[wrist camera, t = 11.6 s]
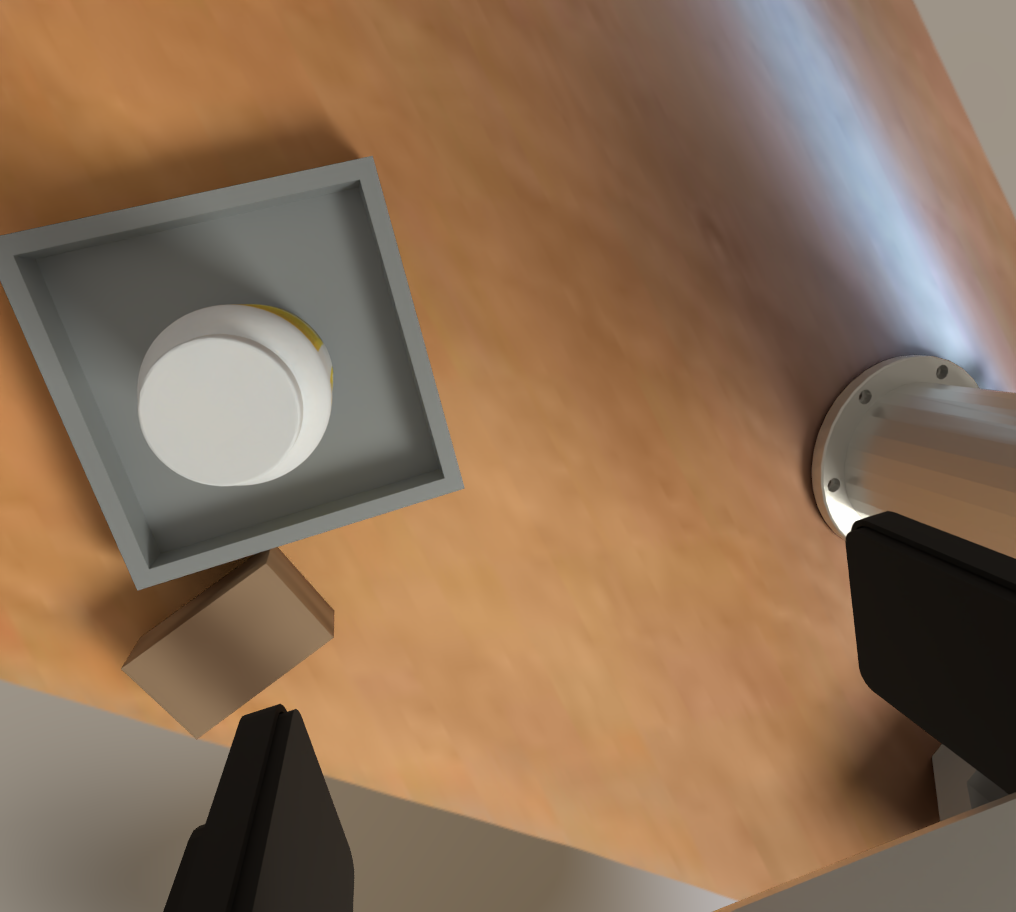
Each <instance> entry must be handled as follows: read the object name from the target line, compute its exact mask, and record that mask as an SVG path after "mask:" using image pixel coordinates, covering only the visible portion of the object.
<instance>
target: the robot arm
mask: <svg viewBox="0 0 1016 912" xmlns="http://www.w3.org/2000/svg"><path fill="white" fill-rule="evenodd" d="M812 484H813V492H814V496H815V499H816V503H817V507H818V509H819V511H820V513H821V515H822V516H823V518H824V520H825V522H826V523H827V524H828V526H829V527H830V528H831V529H832V530H833V532H834V533H835V534H837V535H838V536H839V537H841V538H842V539H843V540H845V541H846V552H847V561H848V570H849V579H850V588H851V598H852V607H853V616H854V625H855V634H856V643H857V652H858V661H859V669H860V673H861V675H862V678H863V679H864V681H865V683H866V684H867V685H868V687H869V688H870V689H871V690H872V691H873V692H875V693H876V694H877V695H879V696H880V697H881V698H883V699H884V700H885V701H887V702H888V703H889V704H891V705H892V706H893V707H895V708H896V709H897V710H898V711H900V712H901V713H902V714H904V715H905V716H906V717H908V718H909V719H910V720H912V721H913V722H914V723H916V724H917V725H918V726H920V727H921V728H922V729H923V730H925V731H926V732H927V733H929V734H930V735H931V736H933V737H934V738H935V739H937V740H938V741H939V742H941V743H942V744H943V745H945V746H946V747H947V748H948V749H950V750H951V751H952V752H954V753H955V754H956V755H958V756H959V757H960V758H962V759H963V760H964V761H966V762H967V763H968V764H970V765H971V766H972V767H973V768H975V769H976V770H977V771H979V772H980V773H981V774H983V775H984V776H985V777H987V778H988V779H989V780H991V781H992V782H993V783H995V784H996V785H997V786H998V787H1000V788H1001V789H1002V790H1004V791H1005V792H1006V793H1008V794H1009V795H1007V796H1005V797H1002V798H1000V799H997V800H995V801H992V802H989V803H987V804H984V805H982V806H979V807H976V808H974V809H971V810H969V811H966V812H964V813H961V814H958V815H956V816H953V817H951V818H948V819H946V820H943V821H940V822H938V823H935V824H933V825H930V826H928V827H925V828H923V829H920V830H917V831H915V832H912V833H910V834H907V835H905V836H902V837H900V838H897V839H895V840H892V841H890V842H887V843H885V844H882V845H879V846H877V847H874V848H872V849H869V850H867V851H864V852H862V853H859V854H857V855H854V856H852V857H849V858H846V859H844V860H841V861H839V862H836V863H834V864H831V865H829V866H826V867H824V868H821V869H819V870H816V871H814V872H811V873H809V874H806V875H804V876H801V877H799V878H796V879H793V880H791V881H788V882H786V883H783V884H781V885H778V886H776V887H773V888H771V889H768V890H766V891H763V892H761V893H758V894H756V895H753V896H751V897H748V898H746V899H743V900H741V901H738V902H736V903H733V904H731V905H728V906H726V907H723V908H720V909H718V910H716V911H713V912H1016V393H1011V392H1003V391H995V390H987V389H980V388H979V387H978V385H977V383H976V382H975V380H974V379H973V378H972V377H971V376H970V375H969V374H968V373H967V372H966V371H965V370H964V369H963V368H961V367H960V366H958V365H956V364H954V363H953V362H951V361H949V360H945V359H942V358H938V357H935V356H924V355H907V356H898V357H894V358H891V359H888V360H885V361H882V362H880V363H878V364H876V365H874V366H873V367H871V368H869V369H867V370H865V371H864V372H863V373H862V374H861V375H859V376H858V377H857V378H856V379H854V380H853V381H852V382H851V383H850V384H849V385H848V386H847V387H846V388H845V389H844V391H843V392H842V393H841V394H840V395H839V396H838V397H837V399H836V400H835V402H834V404H833V405H832V407H831V408H830V410H829V411H828V413H827V415H826V417H825V419H824V422H823V424H822V426H821V428H820V431H819V433H818V437H817V440H816V444H815V448H814V452H813V462H812ZM353 895H354V867H353V860H352V855H351V851H350V848H349V845H348V842H347V839H346V837H345V834H344V831H343V828H342V826H341V823H340V820H339V818H338V815H337V812H336V809H335V807H334V804H333V801H332V799H331V796H330V793H329V791H328V787H327V785H326V782H325V779H324V776H323V774H322V771H321V768H320V766H319V763H318V760H317V757H316V755H315V752H314V749H313V746H312V744H311V741H310V738H309V735H308V733H307V730H306V727H305V725H304V722H303V719H302V717H301V714H300V713H299V711H298V710H297V709H295V710H291V711H288V712H287V711H286V709H285V707H284V706H283V705H281V704H278V705H275V706H272V707H269V708H266V709H263V710H260V711H256V712H253V713H250V714H247V715H244V716H242V718H241V719H240V722H239V725H238V728H237V731H236V734H235V737H234V740H233V743H232V746H231V749H230V752H229V755H228V758H227V761H226V764H225V767H224V770H223V773H222V776H221V779H220V782H219V785H218V788H217V791H216V794H215V797H214V800H213V803H212V806H211V809H210V812H209V815H208V818H207V821H206V824H204V825H201V826H199V827H198V828H196V829H195V830H194V831H193V833H192V835H191V837H190V838H189V841H188V843H187V846H186V849H185V852H184V855H183V858H182V860H181V863H180V866H179V869H178V872H177V874H176V877H175V880H174V883H173V886H172V889H171V891H170V894H169V897H168V900H167V903H166V905H165V908H164V911H163V912H353Z"/></svg>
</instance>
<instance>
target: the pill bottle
mask: <svg viewBox="0 0 1016 912" xmlns="http://www.w3.org/2000/svg"><path fill="white" fill-rule="evenodd" d="M333 380H334V378H333V366H332V362H331V359H330V356H329V353H328V351H327V348H326V346H325V345H324V343H323V341H322V340H321V338H320V337H319V335H318V334H317V333H316V332H315V330H314V329H313V328H312V327H310V326H309V325H308V324H307V323H306V322H305V321H303V320H302V319H301V318H299V317H298V316H296V315H294V314H292V313H291V312H288V311H286V310H284V309H281V308H278V307H274V306H269V305H261V304H231V305H217V306H211V307H206V308H202V309H199V310H196V311H193V312H191V313H189V314H187V315H184V316H183V317H181V318H179V319H178V320H176V321H174V322H173V323H172V324H170V325H169V326H168V327H167V328H165V329H164V330H163V331H162V332H161V333H160V334H159V335H158V337H157V338H156V339H155V340H154V341H153V343H152V344H151V346H150V347H149V349H148V351H147V353H146V355H145V357H144V359H143V362H142V365H141V367H140V372H139V376H138V385H137V399H138V418H139V424H140V428H141V430H142V433H143V436H144V438H145V440H146V442H147V443H148V445H149V447H150V448H151V450H152V451H153V453H154V454H155V455H156V456H157V457H158V458H159V460H160V461H162V462H163V463H164V464H165V465H166V466H167V467H168V468H170V469H171V470H173V471H174V472H176V473H177V474H179V475H181V476H183V477H185V478H187V479H189V480H192V481H195V482H198V483H202V484H207V485H213V486H243V485H254V484H259V483H264V482H267V481H271V480H273V479H276V478H278V477H281V476H283V475H285V474H287V473H288V472H290V471H292V470H293V469H295V468H296V467H297V466H299V465H300V464H301V463H302V462H304V461H305V460H306V459H307V458H308V457H309V455H310V454H311V453H312V452H313V451H314V449H315V448H316V447H317V445H318V444H319V442H320V440H321V439H322V437H323V435H324V433H325V430H326V428H327V425H328V422H329V417H330V413H331V406H332V391H333Z"/></svg>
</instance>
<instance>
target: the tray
mask: <svg viewBox="0 0 1016 912" xmlns="http://www.w3.org/2000/svg"><path fill="white" fill-rule="evenodd" d="M0 281H1V284H2V286H3V288H4V290H5V293H6V295H7V297H8V299H9V302H10V304H11V306H12V308H13V311H14V313H15V315H16V317H17V320H18V322H19V324H20V326H21V329H22V331H23V333H24V335H25V338H26V340H27V342H28V345H29V347H30V349H31V351H32V354H33V356H34V358H35V360H36V363H37V365H38V367H39V369H40V372H41V374H42V376H43V378H44V381H45V383H46V385H47V387H48V390H49V392H50V394H51V396H52V399H53V401H54V403H55V406H56V408H57V410H58V412H59V415H60V417H61V419H62V421H63V424H64V426H65V428H66V430H67V433H68V435H69V437H70V439H71V442H72V444H73V446H74V448H75V451H76V453H77V455H78V458H79V460H80V462H81V464H82V467H83V469H84V471H85V473H86V476H87V478H88V480H89V482H90V485H91V487H92V489H93V491H94V494H95V496H96V498H97V500H98V503H99V505H100V507H101V509H102V512H103V514H104V516H105V519H106V521H107V523H108V525H109V528H110V530H111V532H112V534H113V537H114V539H115V541H116V543H117V546H118V548H119V550H120V552H121V555H122V557H123V559H124V561H125V564H126V566H127V568H128V570H129V573H130V575H131V577H132V580H133V582H134V584H135V586H136V589H137V591H138V590H141V589H144V588H147V587H150V586H154V585H157V584H160V583H163V582H166V581H170V580H173V579H176V578H179V577H183V576H186V575H189V574H192V573H195V572H199V571H202V570H205V569H208V568H211V567H215V566H218V565H221V564H224V563H227V562H231V561H234V560H237V559H240V558H243V557H247V556H250V555H253V554H256V553H259V552H263V551H266V550H269V549H272V548H275V547H279V546H282V545H285V544H288V543H291V542H295V541H298V540H301V539H304V538H307V537H311V536H314V535H317V534H320V533H323V532H327V531H330V530H333V529H336V528H339V527H343V526H346V525H349V524H352V523H355V522H359V521H362V520H365V519H368V518H371V517H375V516H378V515H381V514H384V513H387V512H391V511H394V510H397V509H400V508H403V507H407V506H410V505H413V504H416V503H419V502H423V501H426V500H429V499H432V498H435V497H439V496H442V495H445V494H448V493H451V492H455V491H458V490H461V489H464V484H463V481H462V477H461V474H460V470H459V466H458V463H457V459H456V456H455V452H454V448H453V445H452V441H451V438H450V434H449V430H448V427H447V423H446V419H445V416H444V412H443V409H442V405H441V401H440V398H439V394H438V391H437V387H436V383H435V380H434V376H433V373H432V369H431V365H430V362H429V358H428V355H427V351H426V347H425V344H424V340H423V336H422V333H421V329H420V326H419V322H418V318H417V315H416V311H415V308H414V304H413V300H412V297H411V293H410V290H409V286H408V282H407V279H406V275H405V271H404V268H403V264H402V261H401V257H400V253H399V250H398V246H397V243H396V239H395V235H394V232H393V228H392V225H391V221H390V217H389V214H388V210H387V207H386V203H385V199H384V196H383V192H382V188H381V185H380V181H379V178H378V174H377V170H376V167H375V163H374V160H373V156H370V157H365V158H360V159H356V160H351V161H346V162H342V163H337V164H332V165H328V166H323V167H318V168H314V169H309V170H304V171H300V172H295V173H290V174H286V175H281V176H276V177H272V178H267V179H262V180H258V181H253V182H248V183H244V184H239V185H234V186H230V187H225V188H220V189H216V190H211V191H206V192H202V193H197V194H192V195H188V196H183V197H178V198H174V199H169V200H164V201H160V202H155V203H150V204H146V205H141V206H136V207H132V208H127V209H122V210H118V211H113V212H108V213H104V214H99V215H94V216H90V217H85V218H80V219H76V220H71V221H67V222H62V223H57V224H53V225H48V226H43V227H39V228H34V229H29V230H25V231H20V232H15V233H11V234H6V235H1V236H0ZM231 304H261V305H269V306H274V307H278V308H281V309H284V310H286V311H288V312H291V313H292V314H294V315H296V316H298V317H299V318H301V319H302V320H303V321H305V322H306V323H307V324H308V325H309V326H310V327H312V328H313V329H314V330H315V332H316V333H317V334H318V335H319V337H320V338H321V340H322V341H323V343H324V345H325V346H326V348H327V351H328V353H329V356H330V359H331V362H332V366H333V378H334V380H333V391H332V406H331V413H330V417H329V422H328V425H327V428H326V430H325V433H324V435H323V437H322V439H321V440H320V442H319V444H318V445H317V447H316V448H315V449H314V451H313V452H312V453H311V454H310V455H309V457H308V458H307V459H306V460H305V461H304V462H302V463H301V464H300V465H299V466H297V467H296V468H295V469H293V470H292V471H290V472H288V473H287V474H285V475H283V476H281V477H278V478H276V479H273V480H271V481H267V482H264V483H259V484H254V485H243V486H213V485H207V484H202V483H198V482H195V481H192V480H189V479H187V478H185V477H183V476H181V475H179V474H177V473H176V472H174V471H173V470H171V469H170V468H168V467H167V466H166V465H165V464H164V463H163V462H162V461H160V460H159V458H158V457H157V456H156V455H155V454H154V453H153V451H152V450H151V448H150V447H149V445H148V443H147V442H146V440H145V438H144V436H143V433H142V430H141V428H140V424H139V418H138V399H137V385H138V376H139V372H140V367H141V365H142V362H143V359H144V357H145V355H146V353H147V351H148V349H149V347H150V346H151V344H152V343H153V341H154V340H155V339H156V338H157V337H158V335H159V334H160V333H161V332H162V331H163V330H164V329H165V328H167V327H168V326H169V325H170V324H172V323H173V322H174V321H176V320H178V319H179V318H181V317H183V316H184V315H187V314H189V313H191V312H193V311H196V310H199V309H202V308H206V307H211V306H217V305H231Z"/></svg>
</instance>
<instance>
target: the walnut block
mask: <svg viewBox="0 0 1016 912" xmlns="http://www.w3.org/2000/svg"><path fill="white" fill-rule="evenodd" d="M333 638H334V610H333V609H332V608H331V607H330V606H329V605H328V603H327V602H326V601H325V600H324V599H323V598H322V597H321V596H320V594H319V593H318V592H317V591H316V590H315V589H314V588H313V587H312V585H311V584H310V583H309V582H308V581H307V580H306V579H305V578H304V576H303V575H302V574H301V573H300V572H299V571H298V570H297V569H296V567H295V566H294V565H293V564H292V563H291V562H290V561H289V560H288V558H287V557H286V556H285V555H284V554H283V553H282V552H281V551H280V549H279V548H278V547H275V548H272V549H269V550H266V551H263V552H259V553H257V554H255V555H254V556H252V557H251V558H250V559H248V560H247V561H245V562H244V563H243V564H241V565H240V566H239V567H237V568H236V569H234V570H233V571H232V572H230V573H229V574H228V575H226V576H225V577H223V578H222V579H221V580H219V581H218V582H216V583H215V584H214V585H212V586H211V587H210V588H208V589H207V590H205V591H204V592H203V593H201V594H200V595H199V596H197V597H196V598H194V599H193V600H192V601H190V602H189V603H187V604H186V605H185V606H183V607H182V608H181V609H179V610H178V611H176V612H175V613H174V614H172V615H171V616H170V617H168V618H167V619H165V620H164V621H163V622H161V623H160V624H158V625H157V626H156V627H154V628H153V629H152V630H150V631H149V632H147V633H146V634H145V635H143V636H142V637H141V638H140V639H139V640H138V642H137V644H136V645H135V647H134V649H133V650H132V652H131V653H130V655H129V657H128V658H127V660H126V662H125V663H124V665H123V666H122V668H121V669H122V670H123V671H124V672H125V673H126V674H127V675H128V676H129V677H130V678H131V679H132V680H133V681H134V682H136V683H137V684H138V685H139V686H140V687H141V688H142V689H143V690H144V691H145V692H146V693H147V694H148V695H150V696H151V697H152V698H153V699H154V700H155V701H156V702H157V703H158V704H159V705H160V706H161V707H162V708H164V709H165V710H166V711H167V712H168V713H169V714H170V715H171V716H172V717H173V718H174V719H175V720H176V721H177V722H179V723H180V724H181V725H182V726H183V727H184V728H185V729H186V730H187V731H188V732H189V733H190V734H191V735H193V736H194V737H195V738H196V739H198V738H199V737H201V736H202V735H203V734H205V733H206V732H207V731H209V730H210V729H211V728H213V727H214V726H215V725H217V724H218V723H219V722H221V721H222V720H224V719H225V718H226V717H228V716H229V715H230V714H232V713H233V712H234V711H236V710H237V709H238V708H240V707H241V706H242V705H244V704H245V703H246V702H248V701H249V700H250V699H252V698H253V697H254V696H256V695H257V694H259V693H260V692H261V691H263V690H264V689H265V688H267V687H268V686H269V685H271V684H272V683H273V682H275V681H276V680H277V679H279V678H280V677H281V676H283V675H284V674H285V673H287V672H288V671H289V670H291V669H292V668H294V667H295V666H296V665H298V664H299V663H300V662H302V661H303V660H304V659H306V658H307V657H308V656H310V655H311V654H312V653H314V652H315V651H316V650H318V649H319V648H320V647H322V646H323V645H325V644H326V643H327V642H329V641H330V640H331V639H333Z"/></svg>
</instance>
